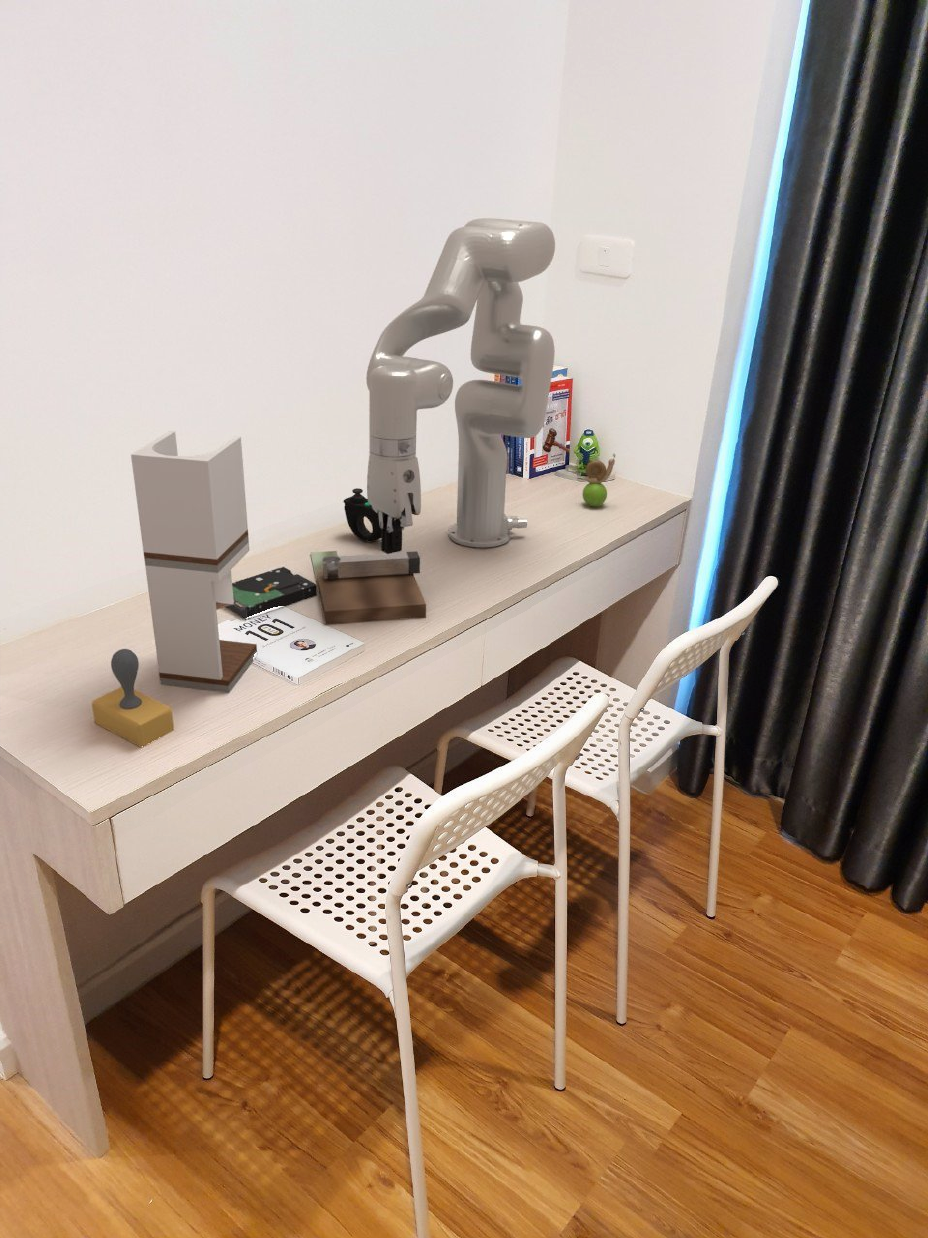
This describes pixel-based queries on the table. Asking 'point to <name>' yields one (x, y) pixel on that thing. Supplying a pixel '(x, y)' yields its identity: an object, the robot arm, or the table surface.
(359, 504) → the controller
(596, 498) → the snail figurine
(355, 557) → the folding leg
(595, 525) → the table surface
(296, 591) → the disk drive
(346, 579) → the brown flat wooden board
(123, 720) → the rubber stamp
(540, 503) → the table surface
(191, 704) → the table surface
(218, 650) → the gray dispenser tower
